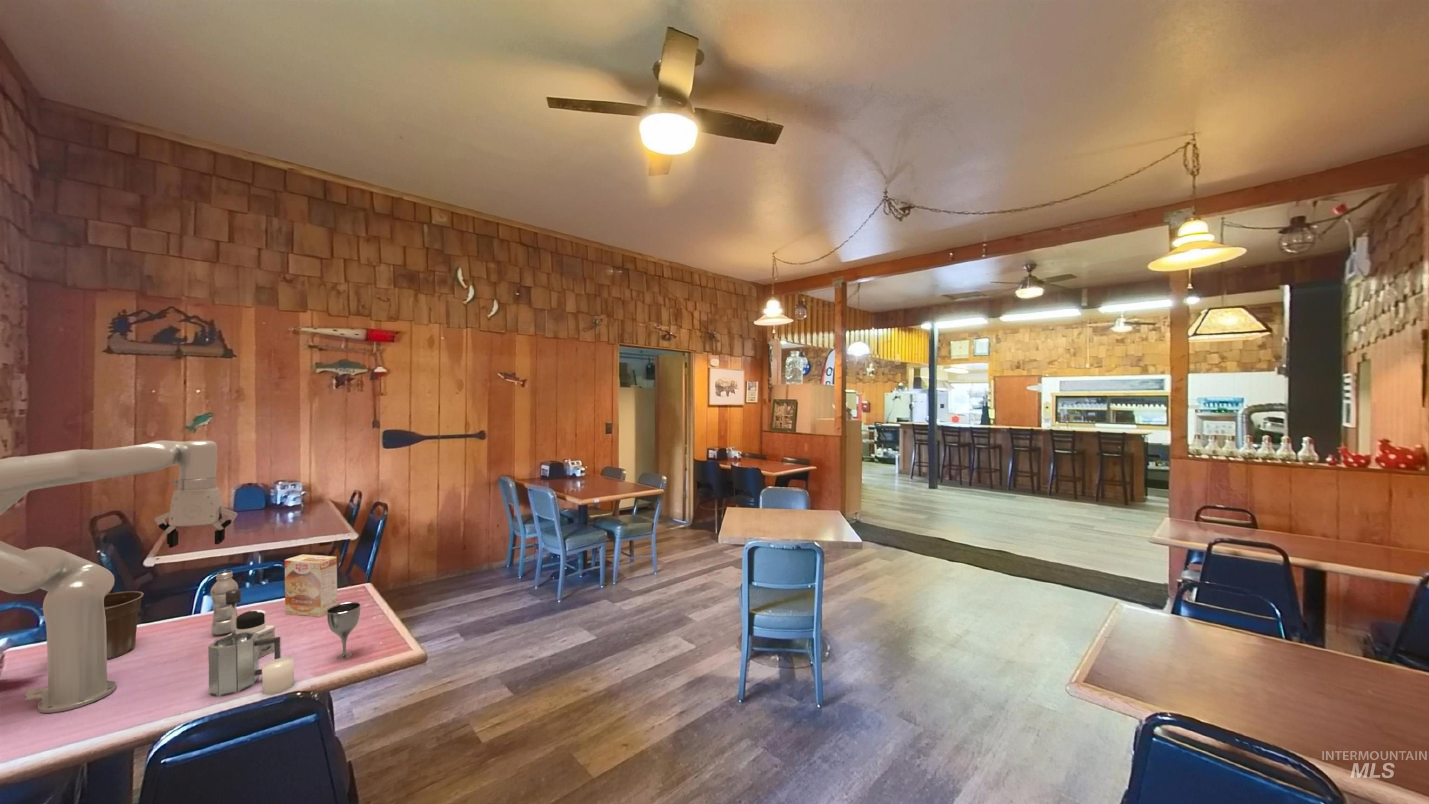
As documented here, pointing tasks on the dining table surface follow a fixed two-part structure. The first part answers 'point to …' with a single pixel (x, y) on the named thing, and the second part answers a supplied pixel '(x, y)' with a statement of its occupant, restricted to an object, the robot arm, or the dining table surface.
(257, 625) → the container
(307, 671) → the dining table surface
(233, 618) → the plunger
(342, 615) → the wine glass
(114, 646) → the plant pot
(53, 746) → the dining table surface
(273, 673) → the pillar candle
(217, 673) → the press carafe
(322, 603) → the coffeecake box
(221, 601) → the plastic bottle
